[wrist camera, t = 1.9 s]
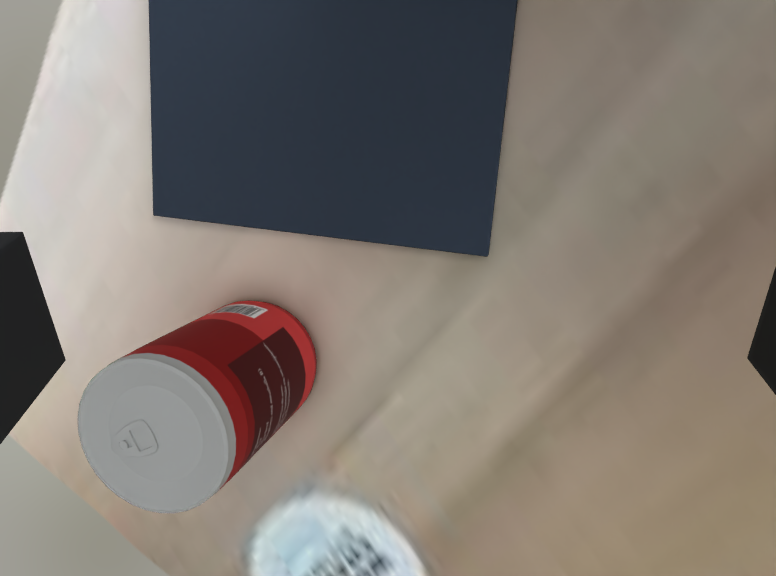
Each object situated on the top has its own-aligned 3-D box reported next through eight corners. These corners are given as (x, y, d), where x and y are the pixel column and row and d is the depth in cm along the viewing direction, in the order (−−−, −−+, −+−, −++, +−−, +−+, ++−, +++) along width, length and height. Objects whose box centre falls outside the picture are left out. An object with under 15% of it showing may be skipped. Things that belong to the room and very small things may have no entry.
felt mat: (521, -34, 30) (521, -37, 30) (488, 255, 34) (487, 256, 34) (151, -40, 35) (147, -42, 35) (157, 214, 39) (153, 215, 38)
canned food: (179, 345, 40) (46, 418, 30) (264, 269, 38) (149, 321, 27) (256, 439, 41) (149, 544, 30) (346, 371, 38) (262, 461, 27)
